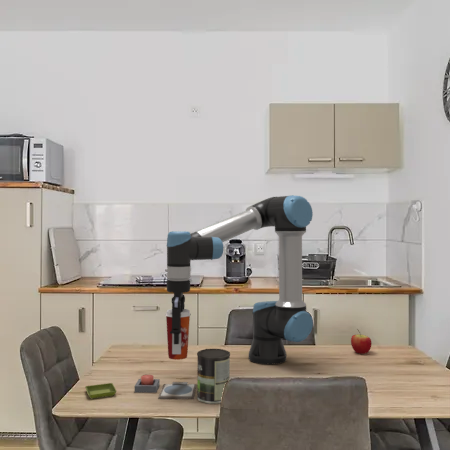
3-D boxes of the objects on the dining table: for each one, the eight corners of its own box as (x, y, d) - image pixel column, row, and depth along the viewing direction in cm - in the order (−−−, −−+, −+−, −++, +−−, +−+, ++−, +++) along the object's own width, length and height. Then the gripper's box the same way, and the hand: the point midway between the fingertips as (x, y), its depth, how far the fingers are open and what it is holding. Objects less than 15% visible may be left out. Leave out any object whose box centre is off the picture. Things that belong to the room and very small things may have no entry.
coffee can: (197, 404, 144) (197, 357, 144) (196, 392, 154) (196, 348, 154) (231, 403, 145) (231, 357, 145) (228, 391, 155) (228, 348, 155)
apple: (354, 349, 207) (355, 326, 207) (374, 352, 202) (374, 329, 202) (347, 353, 201) (347, 329, 201) (367, 357, 196) (367, 332, 196)
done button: (154, 383, 160) (154, 374, 160) (152, 387, 156) (152, 378, 156) (142, 382, 160) (142, 374, 160) (140, 387, 156) (140, 378, 156)
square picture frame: (196, 386, 160) (196, 382, 160) (193, 399, 148) (193, 395, 148) (163, 385, 161) (163, 381, 161) (158, 398, 149) (158, 394, 149)
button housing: (159, 385, 161) (159, 379, 161) (156, 392, 154) (156, 386, 154) (138, 384, 161) (138, 379, 161) (134, 392, 154) (134, 386, 154)
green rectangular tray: (88, 401, 147) (88, 394, 147) (84, 392, 155) (84, 386, 155) (116, 397, 151) (116, 391, 151) (112, 389, 159) (112, 382, 159)
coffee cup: (186, 361, 150) (186, 313, 150) (161, 359, 151) (161, 312, 151) (193, 354, 158) (193, 308, 158) (169, 352, 159) (169, 307, 159)
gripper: (170, 275, 164) (170, 342, 165) (162, 283, 144) (161, 359, 144) (192, 275, 164) (192, 342, 164) (187, 283, 144) (186, 359, 144)
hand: (178, 350), depth 154 cm, fingers closed on coffee cup, 7 cm apart
